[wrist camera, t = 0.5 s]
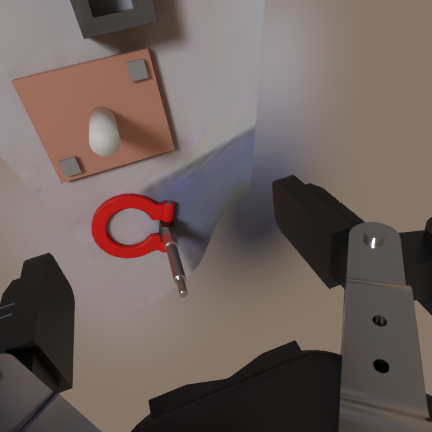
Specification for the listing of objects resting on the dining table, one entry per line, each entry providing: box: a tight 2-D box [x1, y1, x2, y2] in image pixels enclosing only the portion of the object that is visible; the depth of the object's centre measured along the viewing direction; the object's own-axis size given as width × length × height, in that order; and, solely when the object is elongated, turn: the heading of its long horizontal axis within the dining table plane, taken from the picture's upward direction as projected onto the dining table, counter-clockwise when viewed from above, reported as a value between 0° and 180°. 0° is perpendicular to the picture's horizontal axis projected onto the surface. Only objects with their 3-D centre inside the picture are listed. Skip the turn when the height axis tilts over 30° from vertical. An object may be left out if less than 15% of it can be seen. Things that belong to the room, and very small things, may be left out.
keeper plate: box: [12, 47, 175, 183], centre depth 31 cm, size 10×12×8 cm
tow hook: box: [91, 194, 188, 297], centre depth 36 cm, size 8×13×9 cm
